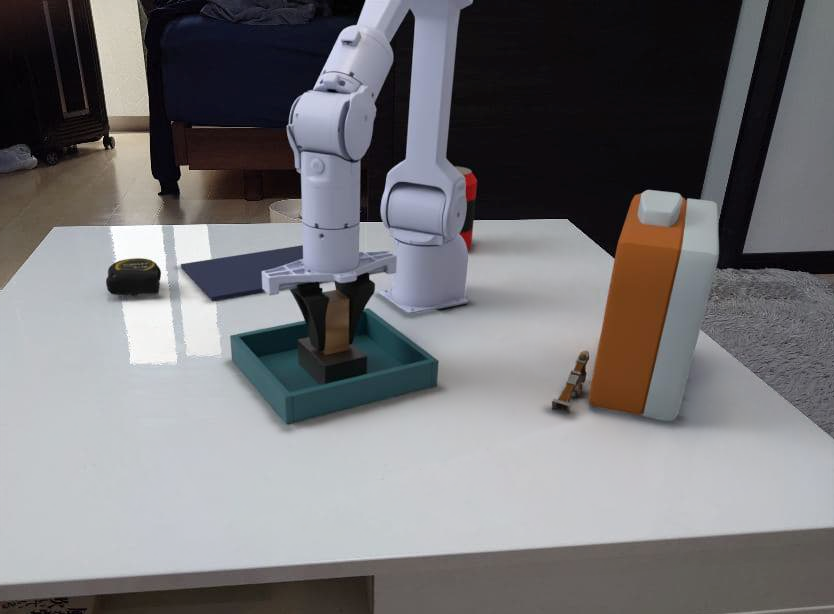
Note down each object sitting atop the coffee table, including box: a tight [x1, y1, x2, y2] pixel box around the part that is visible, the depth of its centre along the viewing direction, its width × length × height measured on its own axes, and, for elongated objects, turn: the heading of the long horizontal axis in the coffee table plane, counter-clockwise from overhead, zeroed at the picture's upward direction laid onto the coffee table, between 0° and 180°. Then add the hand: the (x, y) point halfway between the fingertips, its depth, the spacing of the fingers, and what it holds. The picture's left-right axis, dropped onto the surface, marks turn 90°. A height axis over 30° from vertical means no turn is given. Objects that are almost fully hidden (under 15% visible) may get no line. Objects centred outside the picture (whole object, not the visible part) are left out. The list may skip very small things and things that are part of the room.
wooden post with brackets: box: [551, 350, 590, 413], centre depth 81 cm, size 2×8×4 cm, turn 149°
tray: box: [229, 307, 440, 425], centre depth 85 cm, size 18×16×4 cm
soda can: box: [430, 165, 478, 251], centre depth 121 cm, size 8×8×12 cm
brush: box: [298, 289, 367, 385], centre depth 83 cm, size 5×7×9 cm
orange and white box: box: [588, 189, 720, 422], centre depth 81 cm, size 18×9×21 cm, turn 159°
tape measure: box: [105, 257, 162, 297], centre depth 105 cm, size 7×7×4 cm
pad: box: [180, 244, 303, 302], centre depth 112 cm, size 20×14×1 cm
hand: (331, 344), depth 84 cm, fingers closed on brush, 3 cm apart
